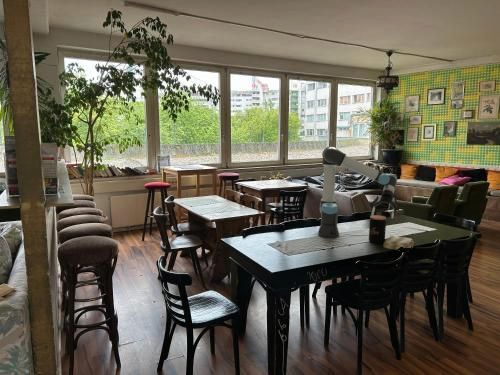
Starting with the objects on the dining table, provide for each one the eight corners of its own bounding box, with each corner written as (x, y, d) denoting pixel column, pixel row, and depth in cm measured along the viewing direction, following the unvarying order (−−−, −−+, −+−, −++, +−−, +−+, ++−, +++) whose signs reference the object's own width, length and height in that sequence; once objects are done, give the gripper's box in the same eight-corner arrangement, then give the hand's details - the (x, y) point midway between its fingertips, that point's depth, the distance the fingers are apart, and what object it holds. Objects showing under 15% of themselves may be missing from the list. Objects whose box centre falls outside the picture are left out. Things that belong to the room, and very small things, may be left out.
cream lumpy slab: (383, 247, 244) (383, 240, 243) (389, 241, 257) (389, 234, 256) (409, 251, 235) (409, 244, 234) (413, 245, 248) (414, 238, 248)
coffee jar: (365, 240, 259) (366, 215, 256) (377, 239, 263) (379, 214, 260) (375, 245, 249) (377, 219, 246) (388, 243, 253) (389, 218, 250)
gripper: (406, 197, 266) (401, 221, 255) (371, 194, 279) (365, 217, 269) (405, 191, 260) (400, 215, 250) (370, 187, 274) (363, 211, 263)
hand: (382, 216), depth 259 cm, fingers open, 13 cm apart
